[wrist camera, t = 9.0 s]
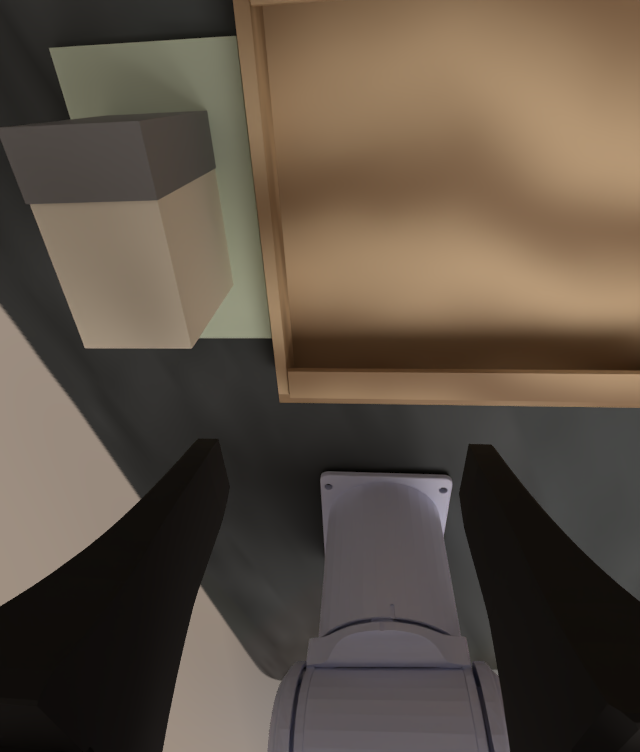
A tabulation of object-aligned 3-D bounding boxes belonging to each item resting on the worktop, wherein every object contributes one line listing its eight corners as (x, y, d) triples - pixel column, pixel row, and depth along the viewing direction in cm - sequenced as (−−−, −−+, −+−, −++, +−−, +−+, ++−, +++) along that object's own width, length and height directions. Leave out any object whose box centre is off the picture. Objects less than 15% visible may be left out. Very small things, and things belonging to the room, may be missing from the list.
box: (234, 284, 21) (192, 349, 16) (150, 285, 21) (82, 349, 16) (207, 110, 17) (138, 121, 12) (105, 115, 17) (-4, 127, 12)
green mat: (273, 332, 23) (271, 338, 22) (142, 332, 23) (137, 338, 23) (239, 37, 16) (235, 35, 15) (58, 49, 17) (48, 48, 16)
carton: (641, 376, 22) (675, 412, 20) (287, 373, 24) (278, 406, 21) (848, -111, 13) (960, -157, 10) (243, -59, 15) (220, -88, 12)
